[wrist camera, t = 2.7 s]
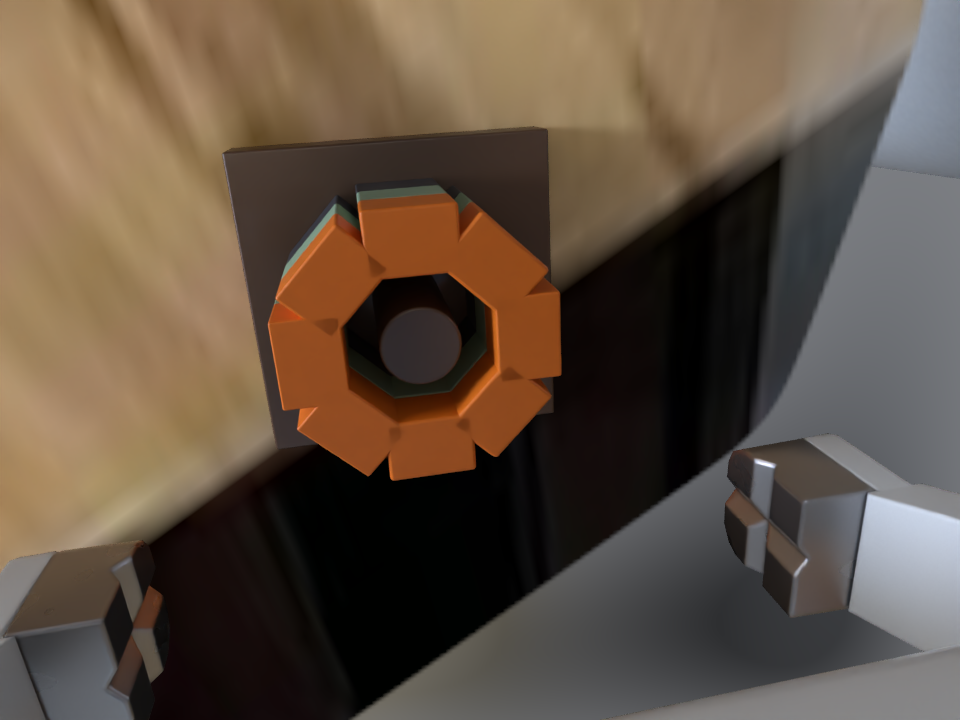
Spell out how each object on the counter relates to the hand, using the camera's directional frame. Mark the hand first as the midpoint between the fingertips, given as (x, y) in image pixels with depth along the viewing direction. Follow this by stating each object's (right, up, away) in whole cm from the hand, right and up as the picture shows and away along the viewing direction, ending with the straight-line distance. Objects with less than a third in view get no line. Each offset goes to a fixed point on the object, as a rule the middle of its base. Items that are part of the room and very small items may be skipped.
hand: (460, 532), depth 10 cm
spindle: (-2, +5, +13) cm, 14 cm away
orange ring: (-1, +3, +8) cm, 9 cm away
